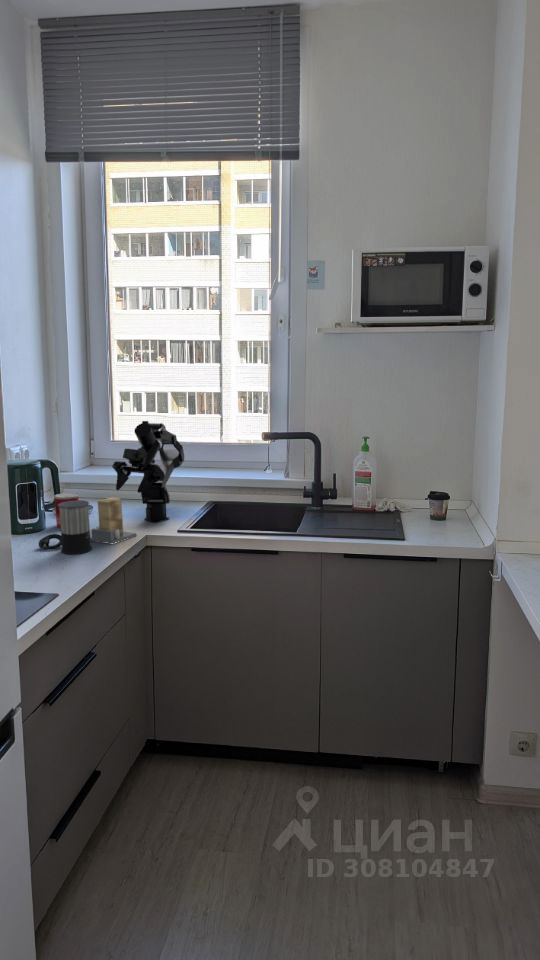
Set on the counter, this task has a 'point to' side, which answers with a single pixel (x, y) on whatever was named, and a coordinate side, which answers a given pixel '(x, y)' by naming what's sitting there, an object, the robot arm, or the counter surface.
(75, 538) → the milk frother
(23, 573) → the counter surface
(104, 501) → the oak block
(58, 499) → the canned food
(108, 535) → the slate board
